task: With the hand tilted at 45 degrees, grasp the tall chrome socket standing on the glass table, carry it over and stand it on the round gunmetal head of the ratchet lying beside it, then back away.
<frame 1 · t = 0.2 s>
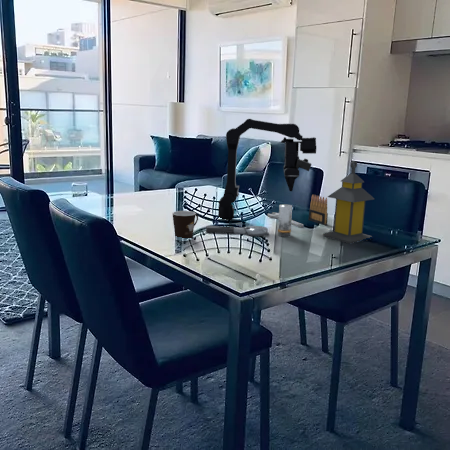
hand: (290, 189, 215), 14 cm above the table, tool pointing down, fingers open, 9 cm apart
adjustable wrench: (283, 222, 220), on the table
coffee mug: (187, 239, 187), on the table
socket: (284, 235, 196), on the table
ammunition clip: (317, 222, 219), on the table
ratchet: (256, 233, 197), on the table
lantern: (347, 237, 195), on the table
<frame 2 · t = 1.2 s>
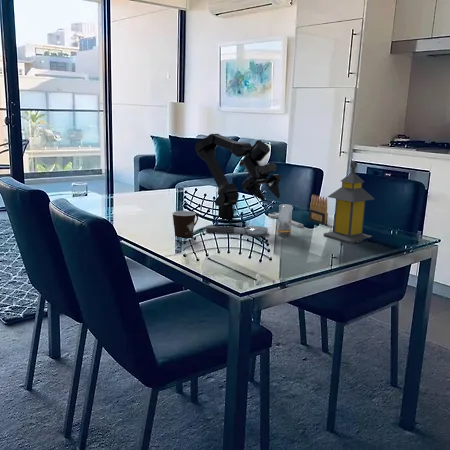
hand: (271, 199, 199), 13 cm above the table, tool tilted 45°, fingers open, 9 cm apart
nothing on the table moved.
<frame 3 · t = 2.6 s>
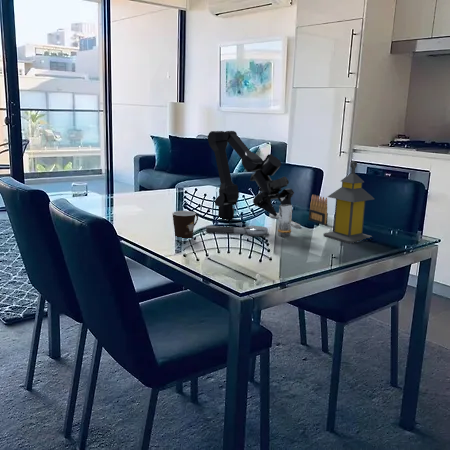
hand: (284, 214, 194), 8 cm above the table, tool tilted 45°, fingers open, 9 cm apart
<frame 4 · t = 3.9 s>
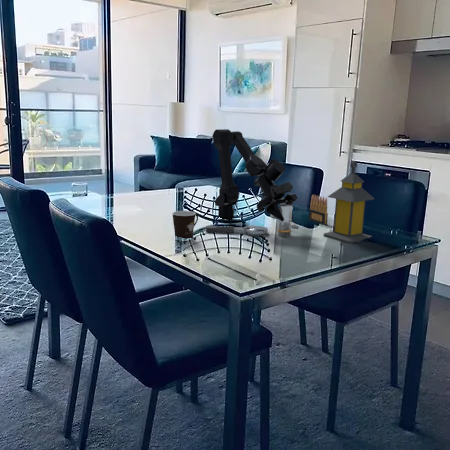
hand: (287, 219, 193), 7 cm above the table, tool tilted 45°, fingers closed on socket, 5 cm apart
socket: (284, 235, 196), on the table, touching gripper
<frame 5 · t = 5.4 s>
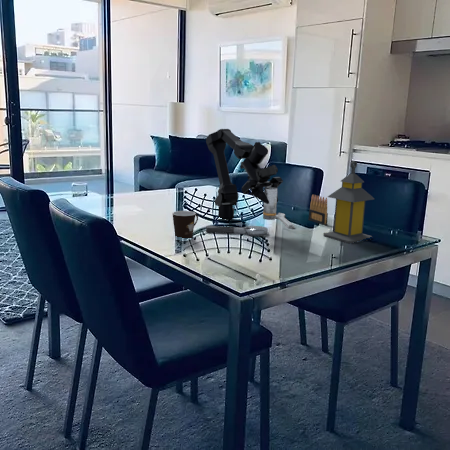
hand: (272, 202, 193), 13 cm above the table, tool tilted 45°, fingers closed on socket, 5 cm apart
socket: (269, 218, 196), point 6 cm above the table, touching gripper
when the fingers open (9 cm above the table, at t = 7.1 s): socket stays where it is, resting on ratchet.
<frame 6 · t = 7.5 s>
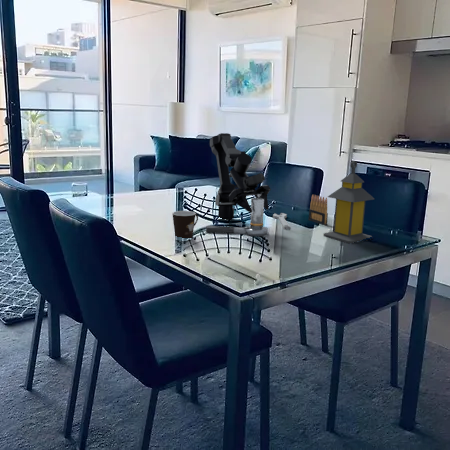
hand: (259, 210, 194), 10 cm above the table, tool tilted 45°, fingers open, 9 cm apart
socket: (256, 228, 197), point 2 cm above the table, touching ratchet
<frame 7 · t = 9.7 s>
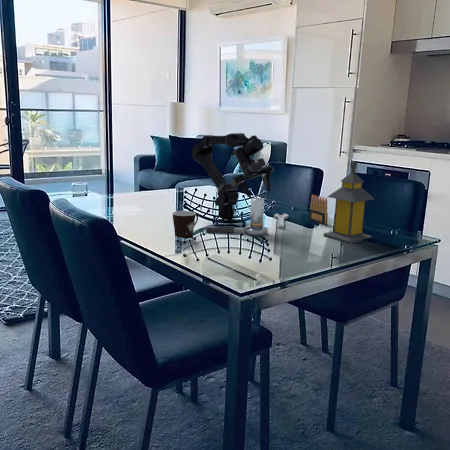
hand: (260, 194, 206), 14 cm above the table, tool tilted 30°, fingers open, 9 cm apart
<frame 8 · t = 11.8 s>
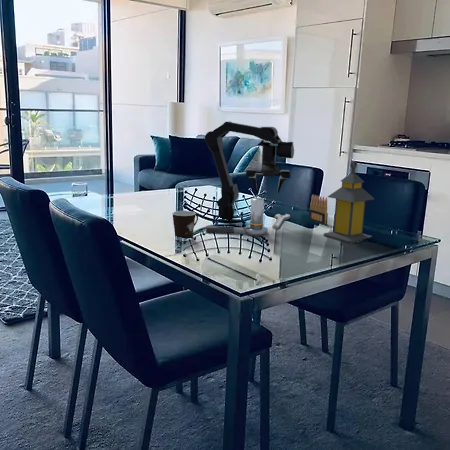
hand: (267, 193, 212), 13 cm above the table, tool pointing down, fingers open, 9 cm apart
at the end: socket 0.1 cm off-centre on the ratchet, point 2.0 cm above the ratchet's base; socket tilted 0°; the gripper is holding nothing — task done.
